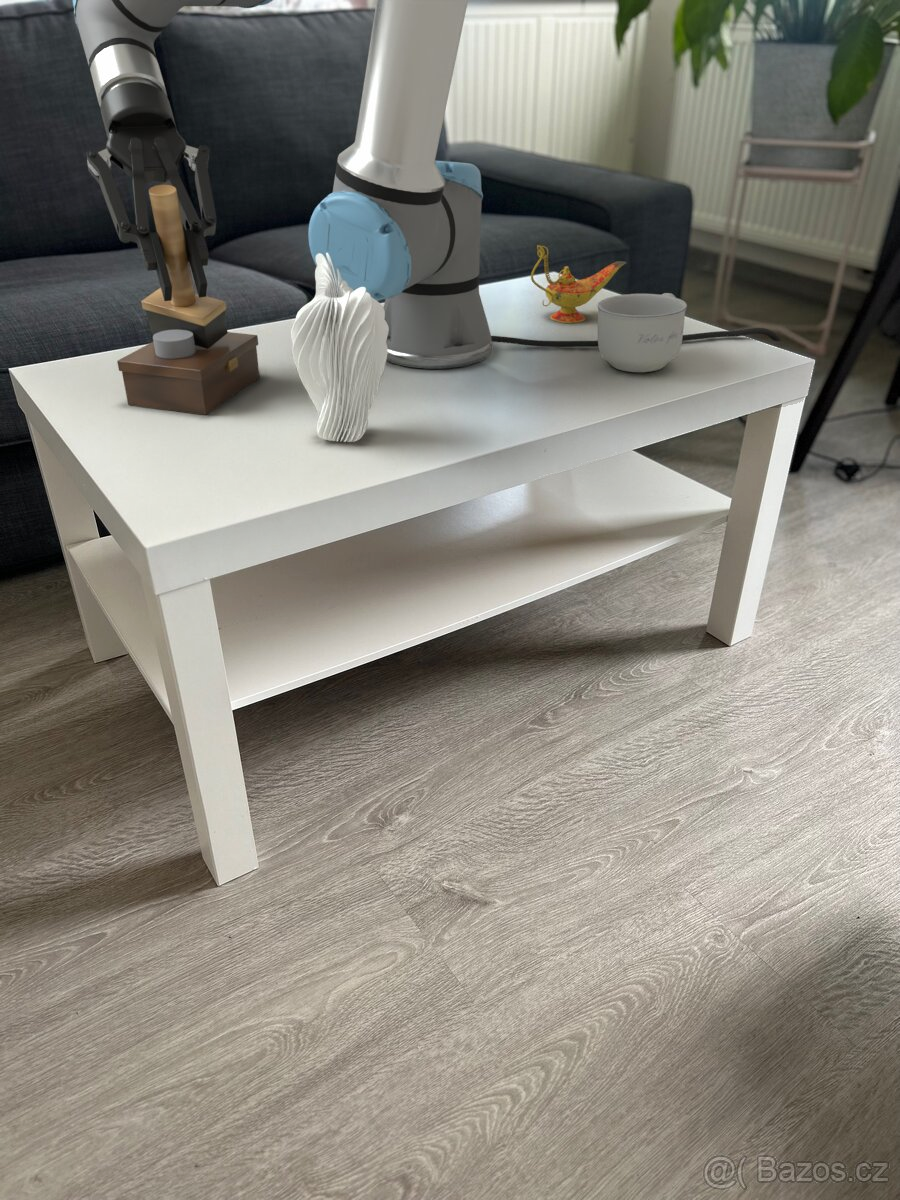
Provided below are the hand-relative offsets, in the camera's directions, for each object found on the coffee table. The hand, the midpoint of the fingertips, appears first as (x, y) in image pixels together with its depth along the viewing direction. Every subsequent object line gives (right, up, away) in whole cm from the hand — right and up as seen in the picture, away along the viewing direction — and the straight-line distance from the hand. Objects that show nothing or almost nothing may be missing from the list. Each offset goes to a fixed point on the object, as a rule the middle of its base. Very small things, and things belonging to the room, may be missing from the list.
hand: (185, 291), depth 100 cm
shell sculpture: (+17, -16, -1) cm, 24 cm away
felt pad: (-3, -5, +5) cm, 8 cm away
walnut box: (-1, -8, +10) cm, 13 cm away
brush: (-2, -2, +9) cm, 9 cm away
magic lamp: (+47, +9, +37) cm, 60 cm away
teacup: (+53, -3, +20) cm, 57 cm away
